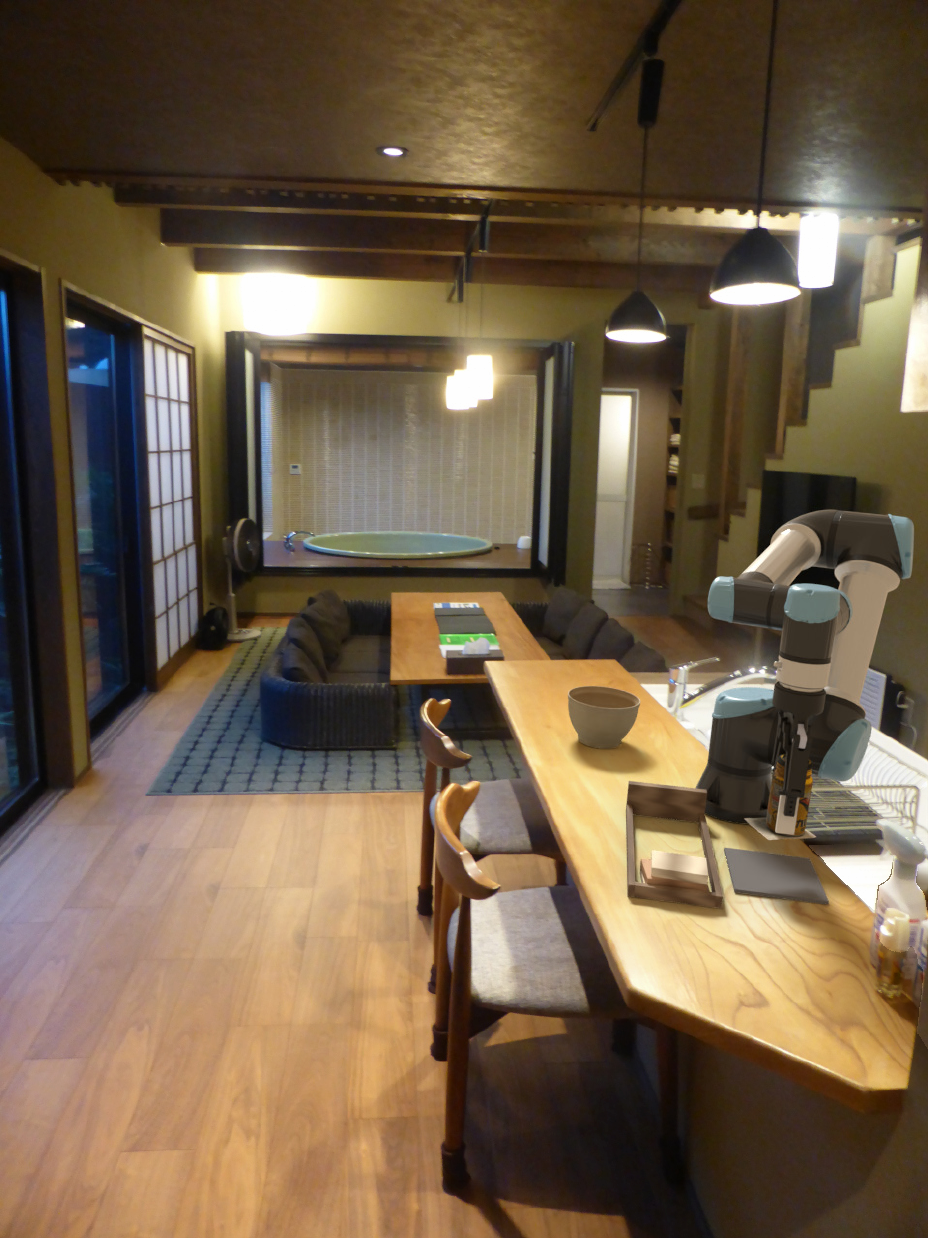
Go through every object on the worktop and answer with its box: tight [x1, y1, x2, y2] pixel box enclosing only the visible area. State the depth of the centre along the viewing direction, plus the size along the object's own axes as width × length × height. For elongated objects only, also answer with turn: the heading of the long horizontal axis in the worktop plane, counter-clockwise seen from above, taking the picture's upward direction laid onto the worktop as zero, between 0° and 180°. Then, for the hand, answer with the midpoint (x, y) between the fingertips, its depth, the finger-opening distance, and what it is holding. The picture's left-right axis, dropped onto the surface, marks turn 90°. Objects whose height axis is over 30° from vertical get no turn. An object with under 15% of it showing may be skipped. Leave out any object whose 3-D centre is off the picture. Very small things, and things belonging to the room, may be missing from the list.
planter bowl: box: [567, 685, 641, 750], centre depth 198 cm, size 16×16×11 cm
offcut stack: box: [639, 849, 711, 892], centre depth 137 cm, size 10×7×5 cm
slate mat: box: [723, 846, 830, 906], centre depth 142 cm, size 14×14×1 cm
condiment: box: [744, 754, 817, 841], centre depth 139 cm, size 7×8×12 cm
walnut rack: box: [625, 780, 724, 909], centre depth 147 cm, size 14×31×6 cm, turn 170°
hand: (780, 823), depth 140 cm, fingers closed on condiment, 6 cm apart
